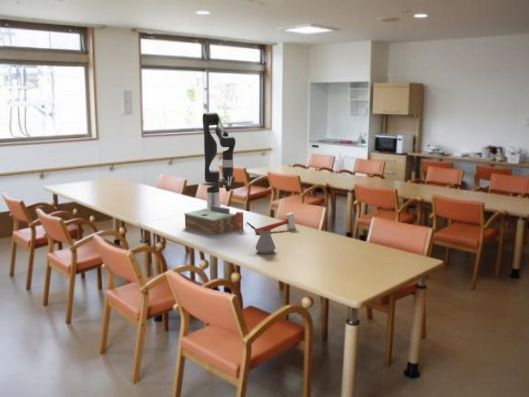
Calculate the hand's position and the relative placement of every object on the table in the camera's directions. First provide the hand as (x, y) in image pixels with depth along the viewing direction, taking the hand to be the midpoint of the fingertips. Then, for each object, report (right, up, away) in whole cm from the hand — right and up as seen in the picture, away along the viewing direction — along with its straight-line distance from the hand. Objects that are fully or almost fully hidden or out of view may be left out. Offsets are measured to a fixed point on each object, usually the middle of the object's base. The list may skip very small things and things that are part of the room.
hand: (227, 191), depth 361 cm
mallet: (+32, -27, -13) cm, 44 cm away
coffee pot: (+22, -35, -56) cm, 70 cm away
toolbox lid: (-11, -16, -10) cm, 22 cm away
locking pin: (+9, -26, -12) cm, 30 cm away
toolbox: (-11, -25, -8) cm, 29 cm away
